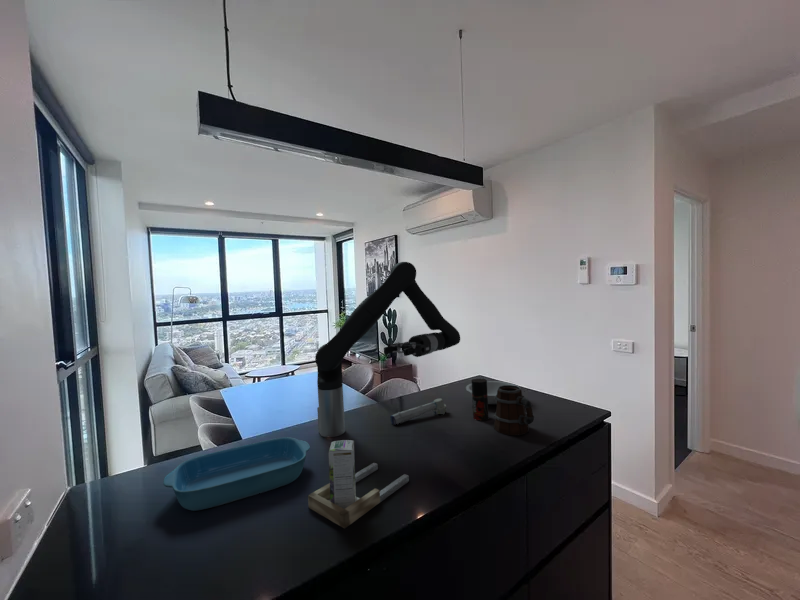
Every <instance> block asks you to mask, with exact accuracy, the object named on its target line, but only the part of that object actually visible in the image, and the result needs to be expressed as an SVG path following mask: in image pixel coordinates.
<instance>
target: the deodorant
mask: <svg viewBox="0 0 800 600" xmlns="http://www.w3.org/2000/svg"><path fill="white" fill-rule="evenodd" d="M487 381H488V380H487V379H486V378H472V379H471V384H472V395H471V396H472V397H471V398H472V416H473V417H472V418H473V419H474V420H475V419H476V420H475V421H478V420H480V422H482V421H484V420H485V421H488V420H489V419H490V418H489V404H488V395H487ZM488 418H489V419H488ZM487 419H488V420H487Z"/></svg>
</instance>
